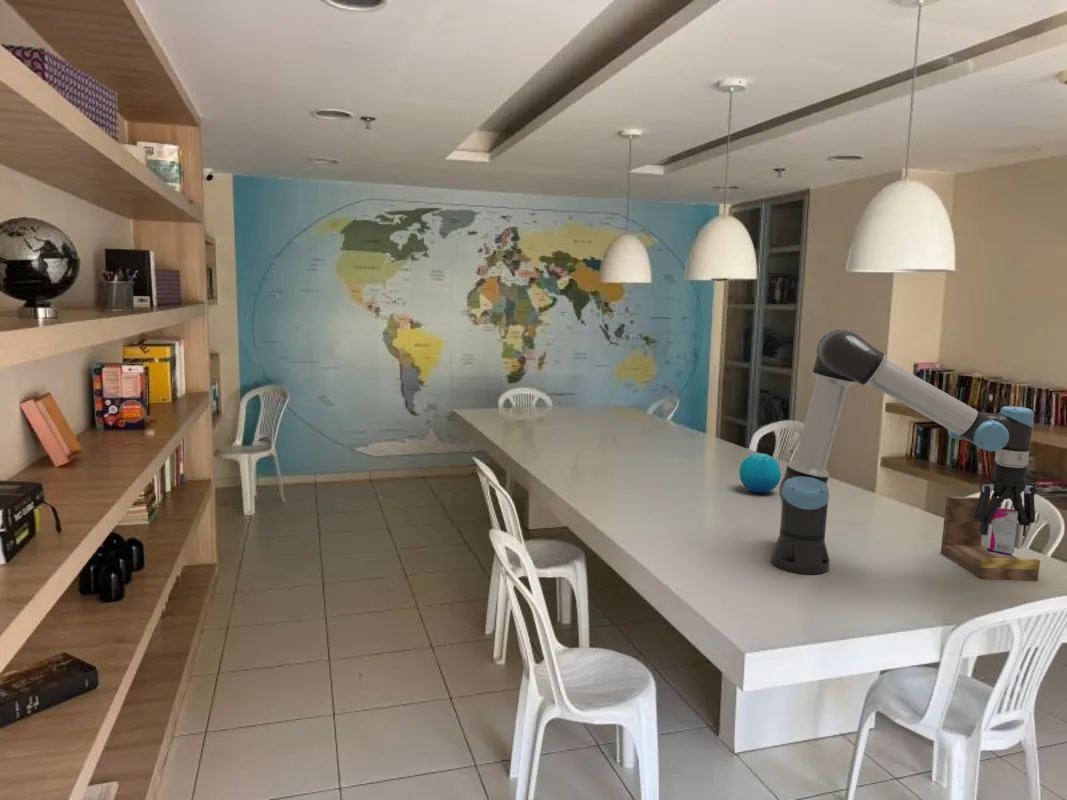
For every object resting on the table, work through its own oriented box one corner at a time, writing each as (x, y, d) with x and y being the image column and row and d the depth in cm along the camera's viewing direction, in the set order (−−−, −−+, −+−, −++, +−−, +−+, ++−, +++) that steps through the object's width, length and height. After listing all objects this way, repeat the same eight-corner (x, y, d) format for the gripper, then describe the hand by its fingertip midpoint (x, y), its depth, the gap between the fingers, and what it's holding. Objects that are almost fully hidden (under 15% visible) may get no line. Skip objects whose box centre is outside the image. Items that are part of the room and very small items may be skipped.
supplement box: (1014, 550, 202) (1019, 510, 201) (1011, 556, 198) (1016, 514, 196) (989, 545, 206) (994, 505, 204) (986, 551, 201) (991, 510, 200)
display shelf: (981, 578, 198) (988, 517, 195) (940, 553, 217) (946, 496, 215) (1037, 580, 198) (1045, 518, 195) (991, 554, 217) (998, 498, 215)
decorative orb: (774, 488, 287) (777, 450, 285) (783, 498, 272) (786, 458, 270) (734, 486, 289) (737, 448, 287) (741, 496, 274) (744, 456, 272)
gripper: (980, 466, 195) (971, 550, 198) (1059, 469, 195) (1048, 552, 198) (964, 460, 202) (955, 541, 205) (1039, 462, 202) (1029, 543, 205)
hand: (1000, 546), depth 202 cm, fingers closed on supplement box, 8 cm apart
